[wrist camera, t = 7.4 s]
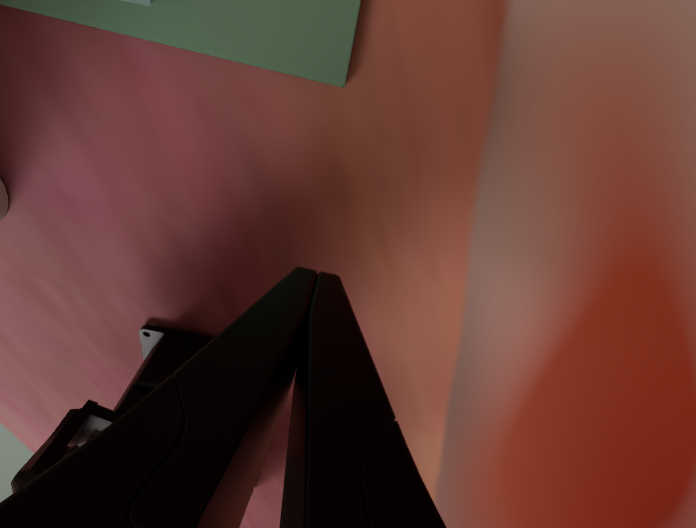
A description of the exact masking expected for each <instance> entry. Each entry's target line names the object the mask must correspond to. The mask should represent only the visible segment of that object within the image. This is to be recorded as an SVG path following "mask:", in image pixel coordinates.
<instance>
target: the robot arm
mask: <svg viewBox="0 0 696 528" xmlns="http://www.w3.org/2000/svg"><path fill="white" fill-rule="evenodd" d="M139 335H140V341H141V347H142V353H143V359H144V362H143V364H142V365H141V367H140V368H139V370H138V371H137V373H136V375H135V376H134V378H133V379H132V381H131V383H130V384H129V386H128V387H127V389H126V391H125V392H124V394H123V395H122V397H121V398H120V400H119V402H118V403H117V405H116V406H115V408H114V410H110V409H107V408H105V407H102V406H100V405H98V403H97V402H94V401H92V400H88V401H87V402H86V404H85V405H84V406H83V408H81V409H70V410H69V412H68V413H67V415H66V416H65V417H64V419H63V420H62V421H61V423H60V424H59V426H58V427H57V428H56V430H55V431H54V432H53V433H52V435H51V436H50V437H49V438H48V439H47V441H46V442H45V443H44V444H43V445H42V446H41V447H40V448H39V449H38V451H37V452H36V453H35V454H34V455H33V456H32V457H31V458H30V459H29V461H28V462H27V463H26V464H25V465H24V466H23V467H22V468H21V469H20V470H19V472H18V473H17V474H16V476H15V477H14V478H13V480H12V482H11V486H12V491H13V494H12V495H11V496H9V497H8V498H6V499H5V500H3V501H2V502H1V503H0V528H239V527H240V524H241V521H242V519H243V516H244V513H245V511H246V508H247V505H248V502H249V500H250V497H251V494H252V492H253V489H254V486H255V483H256V481H257V478H258V475H259V473H260V470H261V467H262V465H263V462H264V459H265V456H266V454H267V451H268V448H269V446H270V443H271V440H272V437H273V435H274V432H275V429H276V427H277V424H278V421H279V419H280V416H281V413H282V410H283V408H284V405H285V402H286V400H287V397H288V394H289V391H290V389H291V386H292V383H293V380H294V376H295V381H294V389H293V398H292V408H291V418H290V428H289V438H288V448H287V458H286V468H285V478H284V489H283V499H282V509H281V519H280V528H447V527H446V526H445V524H444V522H443V520H442V518H441V516H440V514H439V512H438V510H437V508H436V506H435V504H434V502H433V500H432V498H431V496H430V494H429V492H428V490H427V488H426V486H425V484H424V482H423V480H422V478H421V476H420V474H419V471H418V469H417V467H416V465H415V462H414V460H413V458H412V455H411V453H410V451H409V448H408V446H407V444H406V441H405V439H404V436H403V434H402V431H401V429H400V426H399V424H398V422H397V421H394V420H395V414H394V412H393V409H392V407H391V404H390V402H389V399H388V397H387V394H386V392H385V389H384V387H383V384H382V382H381V379H380V377H379V374H378V372H377V369H376V367H375V364H374V362H373V359H372V357H371V354H370V352H369V349H368V347H367V344H366V342H365V339H364V337H363V334H362V332H361V329H360V327H359V324H358V322H357V319H356V317H355V314H354V312H353V309H352V307H351V304H350V302H349V299H348V296H347V294H346V291H345V289H344V286H343V284H342V281H341V279H340V277H339V276H338V275H336V274H331V273H326V272H319V273H318V275H317V271H316V270H313V269H308V268H303V267H296V268H295V269H294V270H292V271H291V272H290V273H289V274H288V275H287V276H285V277H284V278H283V279H282V280H281V281H280V282H279V283H277V284H276V285H275V286H274V287H273V288H272V289H270V290H269V291H268V292H267V293H266V294H265V295H263V296H262V297H261V298H260V299H259V300H258V301H256V302H255V303H254V304H253V305H252V306H251V307H249V308H248V309H247V310H246V311H245V312H244V313H242V314H241V315H240V316H239V317H238V318H237V319H235V320H234V321H233V322H232V323H231V324H230V325H229V326H227V327H226V328H225V329H224V330H223V331H222V332H220V333H219V334H218V335H217V336H216V337H215V338H209V337H204V336H199V335H195V334H190V333H185V332H180V331H175V330H170V329H165V328H161V327H156V326H151V325H144V326H143V327H142V328H141V329H140V331H139ZM297 364H298V365H297ZM296 369H297V370H296ZM295 372H296V375H295Z"/></svg>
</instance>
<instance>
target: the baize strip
mask: <svg viewBox="0 0 696 528" xmlns="http://www.w3.org/2000/svg"><path fill="white" fill-rule="evenodd" d="M0 5H4V6H8V7H12V8H17V9H21V10H25V11H29V12H33V13H37V14H41V15H45V16H50V17H54V18H58V19H62V20H66V21H70V22H74V23H79V24H83V25H87V26H91V27H95V28H99V29H103V30H107V31H112V32H116V33H120V34H124V35H128V36H132V37H136V38H141V39H145V40H149V41H153V42H157V43H161V44H165V45H169V46H174V47H178V48H182V49H186V50H190V51H194V52H198V53H202V54H207V55H211V56H215V57H219V58H223V59H227V60H231V61H236V62H240V63H244V64H248V65H252V66H256V67H260V68H264V69H269V70H273V71H277V72H281V73H285V74H289V75H293V76H298V77H302V78H306V79H310V80H314V81H318V82H322V83H326V84H331V85H335V86H339V87H343V88H344V87H345V84H346V79H347V74H348V68H349V63H350V58H351V53H352V47H353V42H354V37H355V31H356V26H357V21H358V15H359V10H360V5H361V0H155V1H154V2H153V4H152V5H151V6H147V5H141V4H136V3H131V2H125V1H120V0H0Z"/></svg>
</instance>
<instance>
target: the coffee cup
mask: <svg viewBox="0 0 696 528" xmlns="http://www.w3.org/2000/svg"><path fill="white" fill-rule="evenodd" d="M7 209H8V195H7V192H6V188H5V186H4V184H3V182H2V180H1V178H0V221H1V220H2V219H3V218H4V216H5V214H6V213H7Z"/></svg>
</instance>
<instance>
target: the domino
mask: <svg viewBox="0 0 696 528" xmlns="http://www.w3.org/2000/svg"><path fill="white" fill-rule="evenodd" d="M120 1H125V2H131V3H136V4H141V5H147V6H151V5H152V4H153V2H154V1H155V0H120Z"/></svg>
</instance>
